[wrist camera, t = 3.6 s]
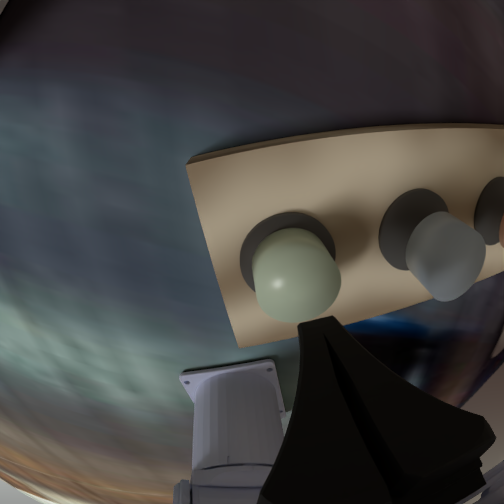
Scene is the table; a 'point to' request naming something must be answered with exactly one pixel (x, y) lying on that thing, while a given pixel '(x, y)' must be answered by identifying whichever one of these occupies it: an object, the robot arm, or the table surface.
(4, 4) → the photo printer
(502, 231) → the button terracotta
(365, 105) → the table surface
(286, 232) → the button sage
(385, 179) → the button panel
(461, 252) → the button slate
